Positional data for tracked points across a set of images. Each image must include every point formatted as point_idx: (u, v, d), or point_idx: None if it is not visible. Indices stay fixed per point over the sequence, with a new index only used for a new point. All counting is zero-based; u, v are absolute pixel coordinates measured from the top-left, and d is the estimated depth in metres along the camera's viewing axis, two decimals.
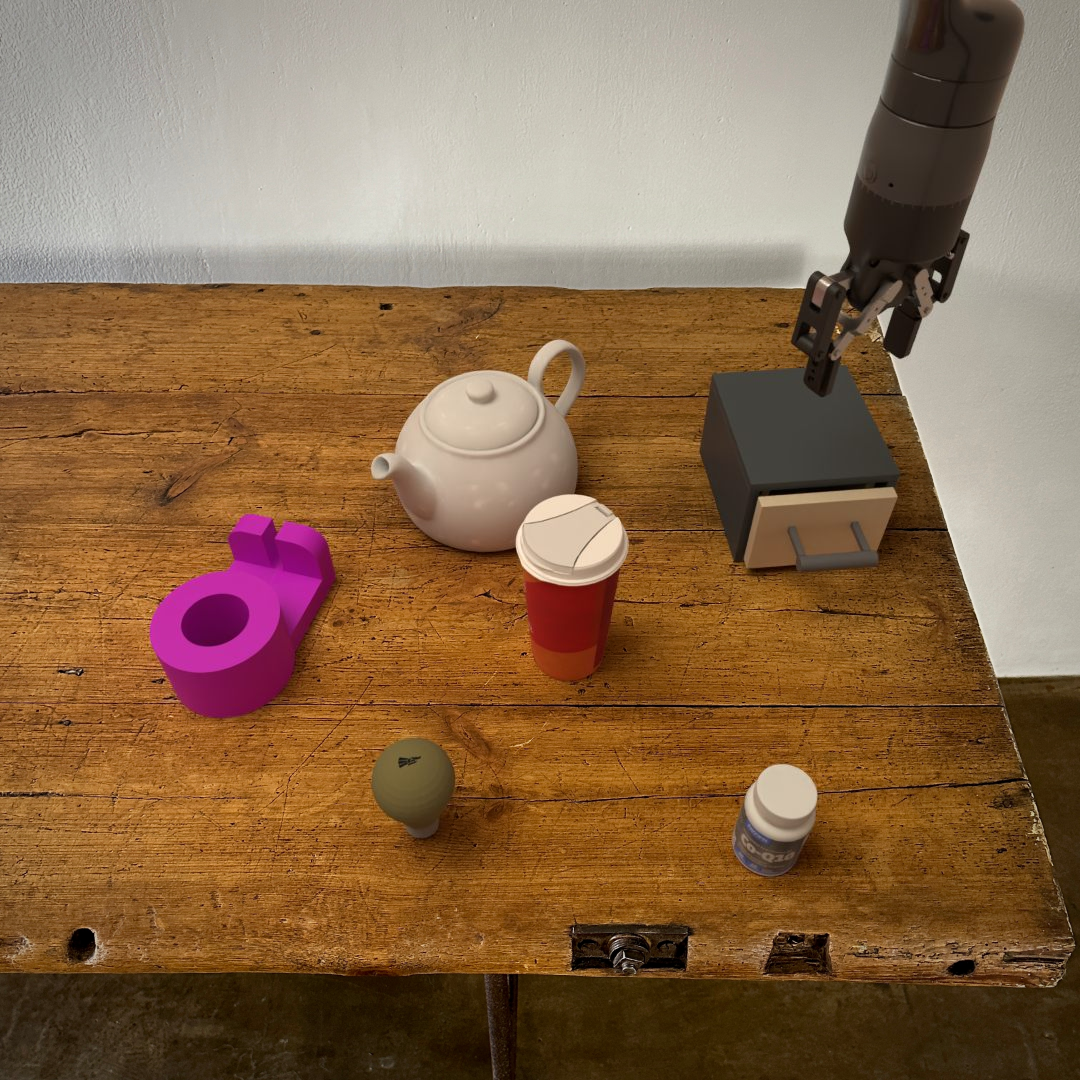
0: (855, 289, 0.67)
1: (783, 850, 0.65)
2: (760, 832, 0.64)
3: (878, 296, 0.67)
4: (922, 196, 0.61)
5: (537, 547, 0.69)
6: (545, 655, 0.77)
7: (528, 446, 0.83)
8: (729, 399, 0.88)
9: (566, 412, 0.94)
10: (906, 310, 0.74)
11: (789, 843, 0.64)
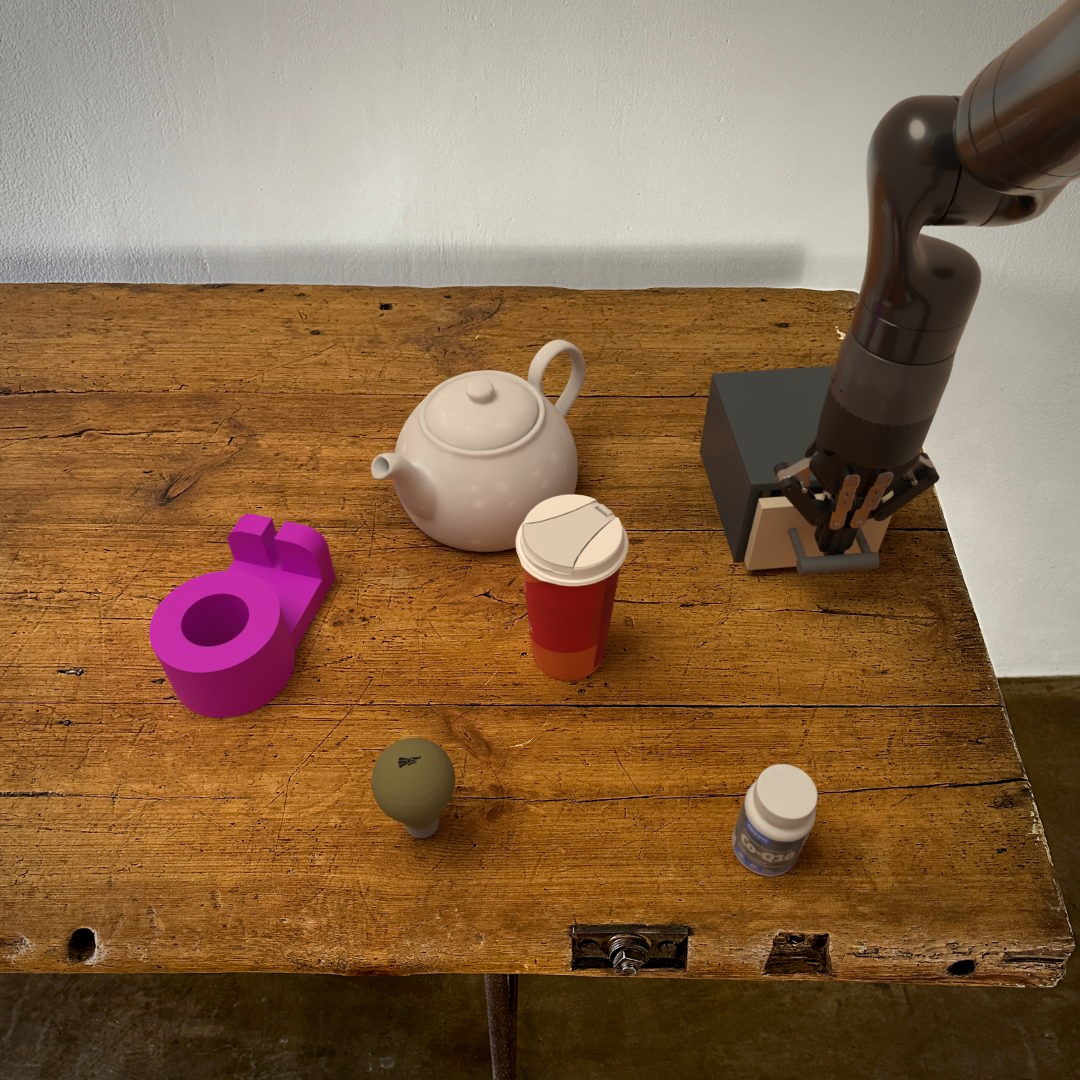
0: (811, 469, 0.73)
1: (783, 850, 0.65)
2: (760, 832, 0.64)
3: (840, 487, 0.73)
4: (862, 410, 0.66)
5: (537, 547, 0.69)
6: (545, 655, 0.77)
7: (528, 446, 0.83)
8: (729, 399, 0.88)
9: (566, 412, 0.94)
10: None
11: (789, 843, 0.64)
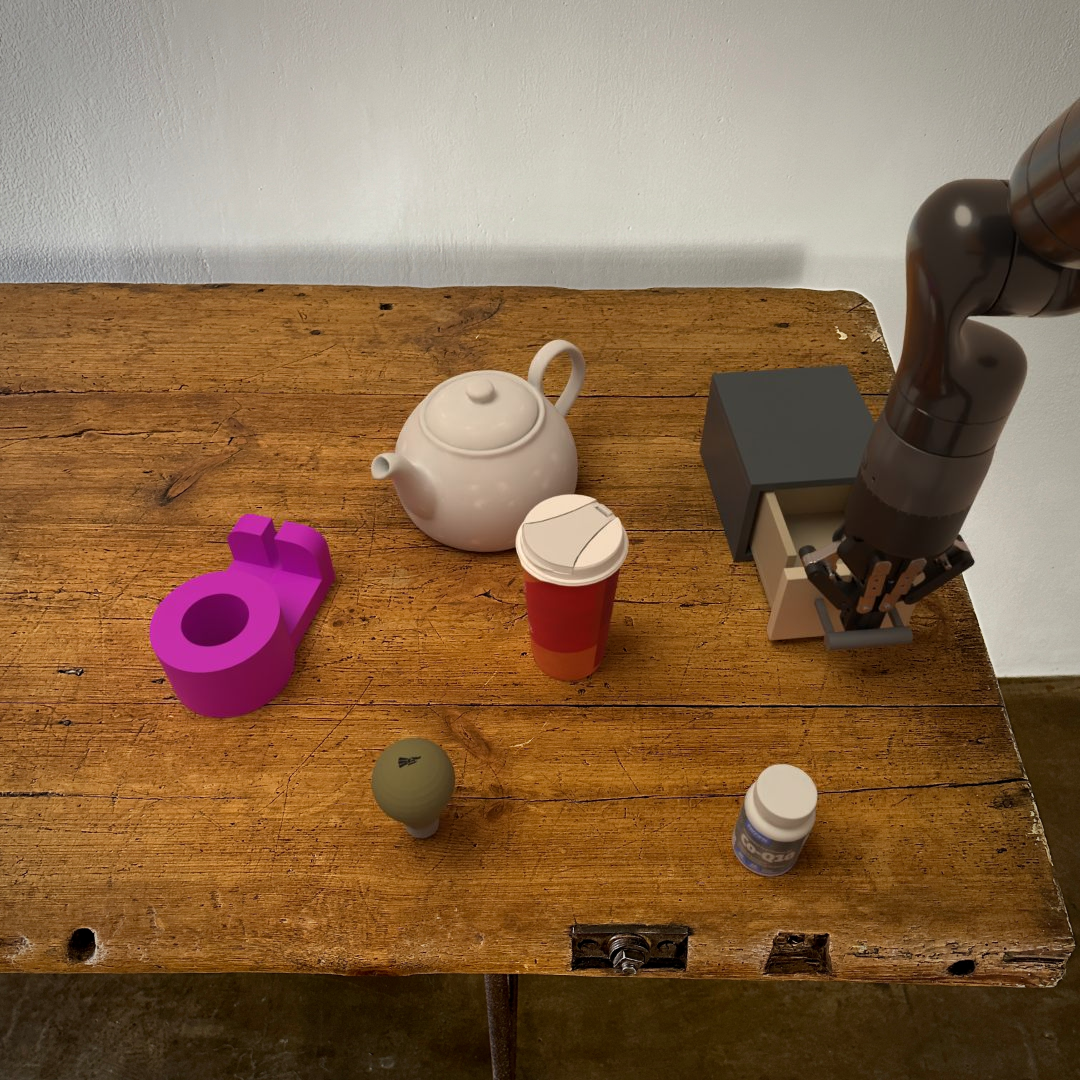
0: (839, 555, 0.68)
1: (783, 850, 0.65)
2: (760, 832, 0.64)
3: (869, 573, 0.69)
4: (897, 500, 0.62)
5: (537, 547, 0.69)
6: (545, 655, 0.77)
7: (528, 446, 0.83)
8: (729, 399, 0.88)
9: (566, 412, 0.94)
10: None
11: (789, 843, 0.64)
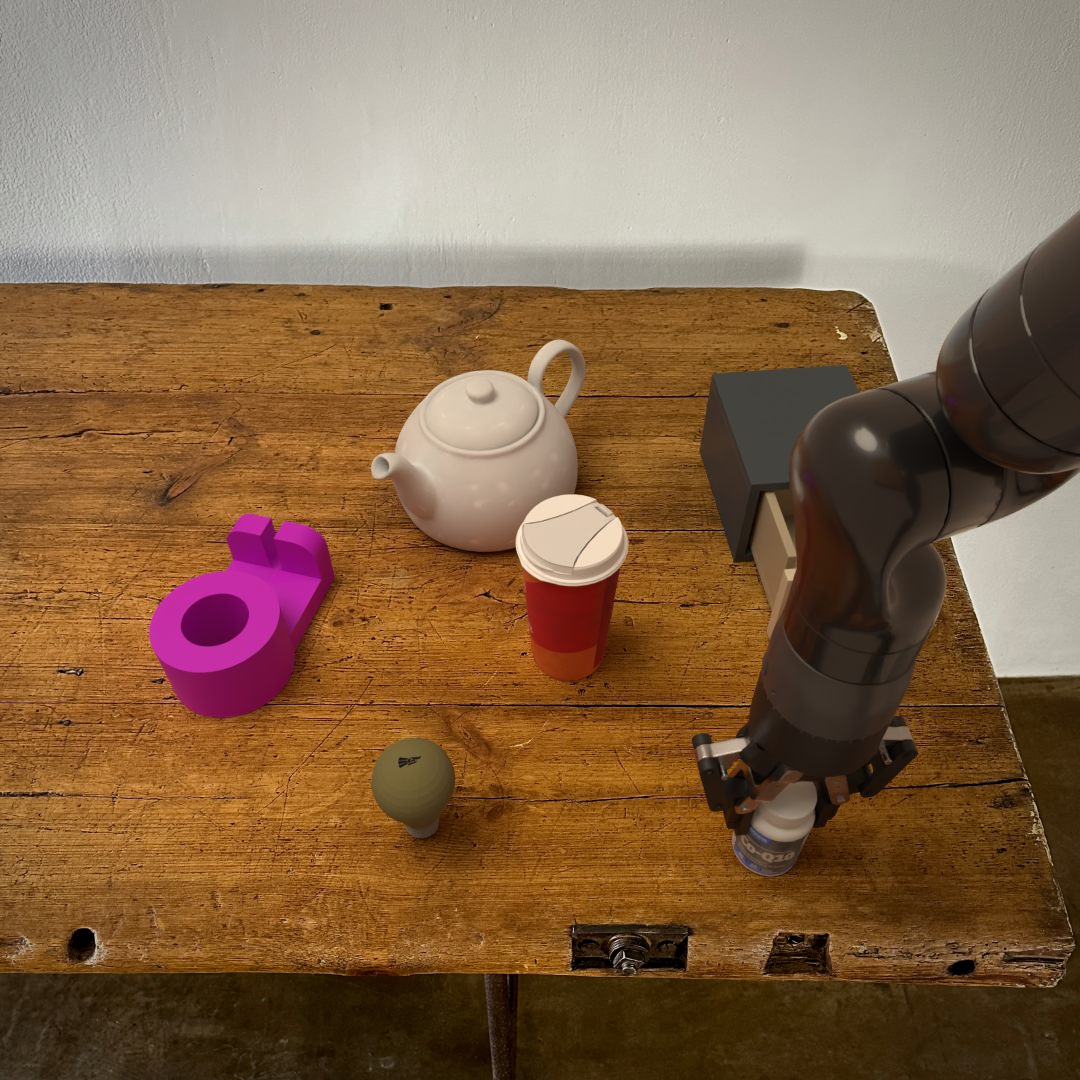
0: (742, 760, 0.58)
1: (783, 850, 0.65)
2: (759, 832, 0.64)
3: (774, 777, 0.58)
4: (799, 721, 0.52)
5: (537, 547, 0.69)
6: (545, 655, 0.77)
7: (528, 446, 0.83)
8: (729, 399, 0.88)
9: (566, 412, 0.94)
10: (823, 786, 0.64)
11: (789, 843, 0.64)
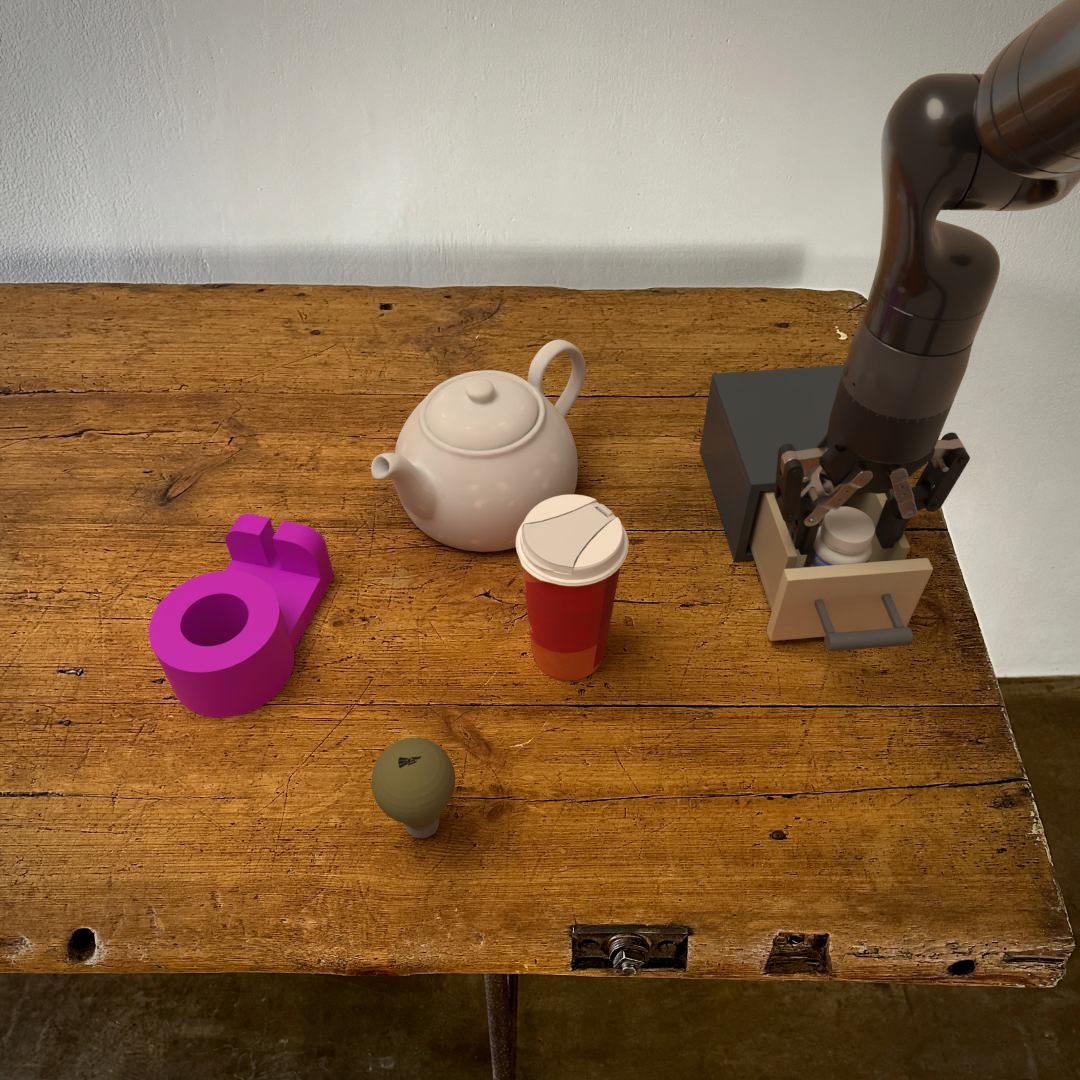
0: (822, 465, 0.70)
1: None
2: (826, 561, 0.77)
3: (847, 480, 0.71)
4: (876, 403, 0.64)
5: (537, 547, 0.69)
6: (545, 655, 0.77)
7: (528, 446, 0.83)
8: (729, 399, 0.88)
9: (566, 412, 0.94)
10: (893, 506, 0.76)
11: None
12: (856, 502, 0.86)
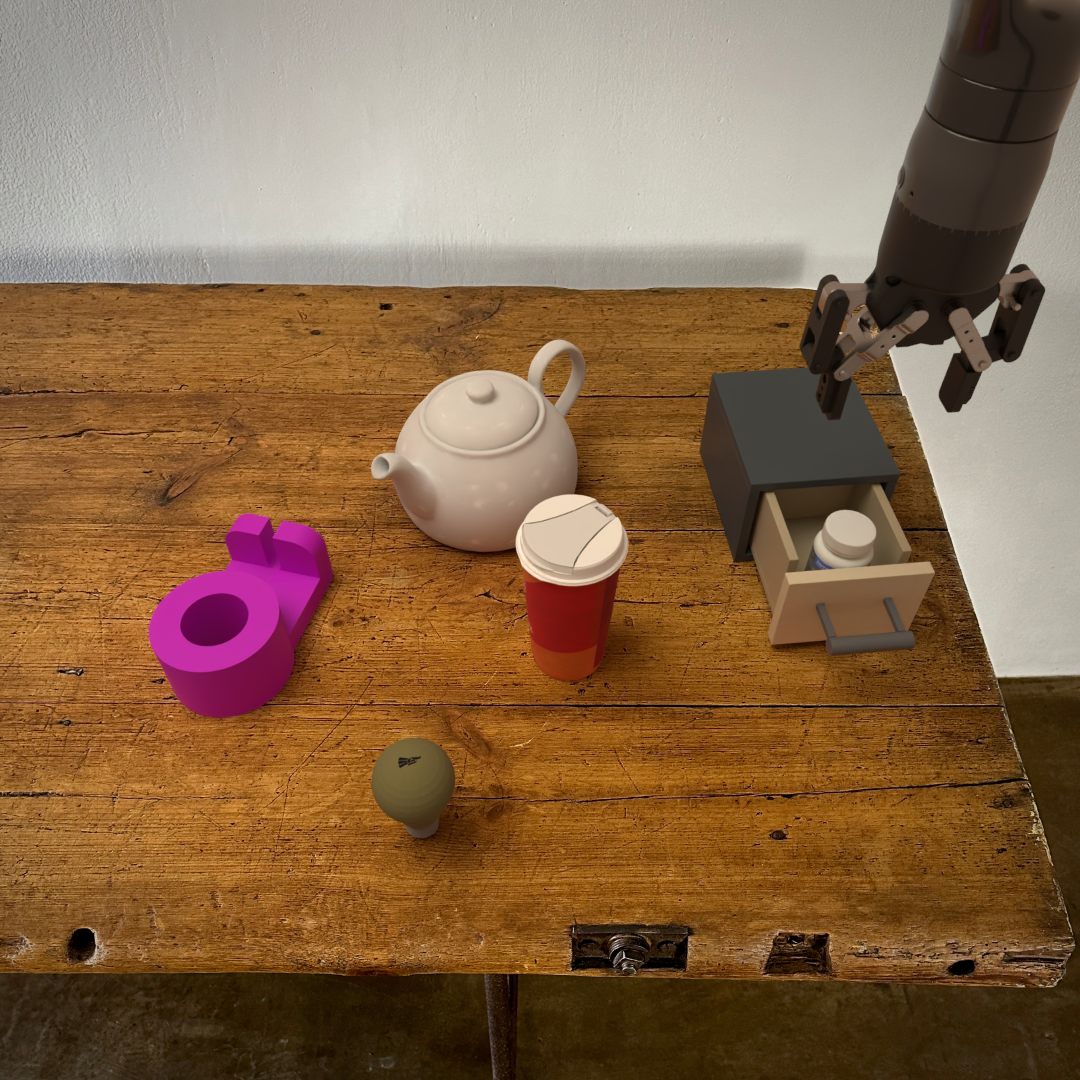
0: (869, 306, 0.60)
1: None
2: (827, 564, 0.77)
3: (897, 322, 0.60)
4: (939, 213, 0.54)
5: (537, 547, 0.69)
6: (545, 655, 0.77)
7: (528, 446, 0.83)
8: (729, 399, 0.88)
9: (566, 412, 0.94)
10: (963, 358, 0.65)
11: None
12: (857, 505, 0.85)
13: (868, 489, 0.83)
